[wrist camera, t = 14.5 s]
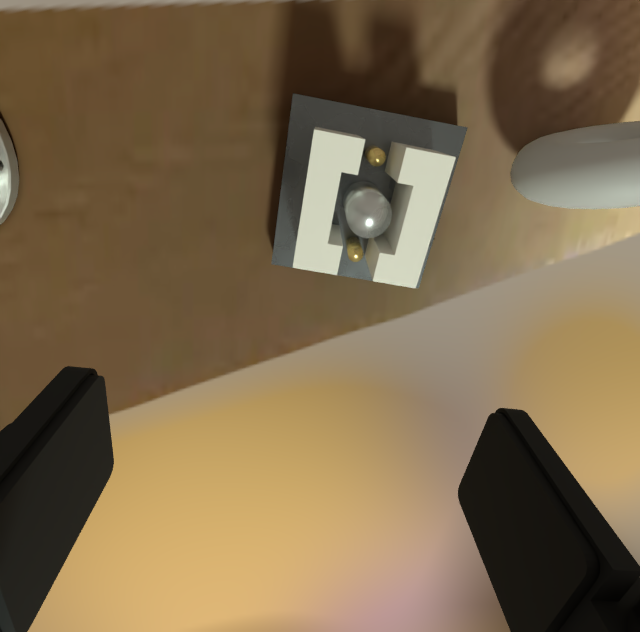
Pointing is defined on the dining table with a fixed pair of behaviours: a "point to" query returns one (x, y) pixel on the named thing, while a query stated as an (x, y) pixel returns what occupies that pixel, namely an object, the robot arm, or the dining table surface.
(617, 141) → the donut
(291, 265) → the post base
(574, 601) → the robot arm
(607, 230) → the dining table surface
